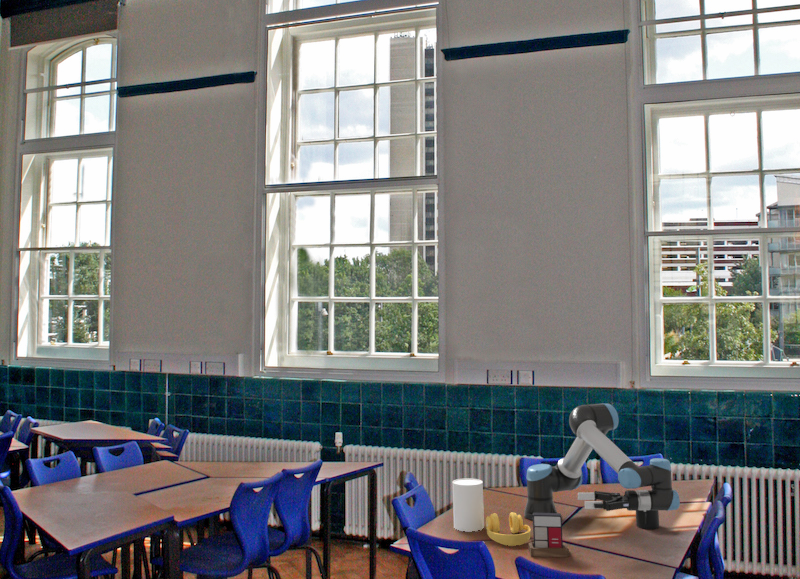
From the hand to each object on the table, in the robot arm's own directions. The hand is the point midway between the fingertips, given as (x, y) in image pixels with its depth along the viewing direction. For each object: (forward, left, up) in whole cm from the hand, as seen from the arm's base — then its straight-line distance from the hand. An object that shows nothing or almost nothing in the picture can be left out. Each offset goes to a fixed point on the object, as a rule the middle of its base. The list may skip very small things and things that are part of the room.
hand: (581, 500), depth 253 cm
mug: (-34, +34, -20) cm, 53 cm away
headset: (-19, -27, -21) cm, 39 cm away
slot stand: (0, -13, -20) cm, 24 cm away
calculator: (0, -13, -20) cm, 24 cm away
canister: (-34, -43, -20) cm, 59 cm away
